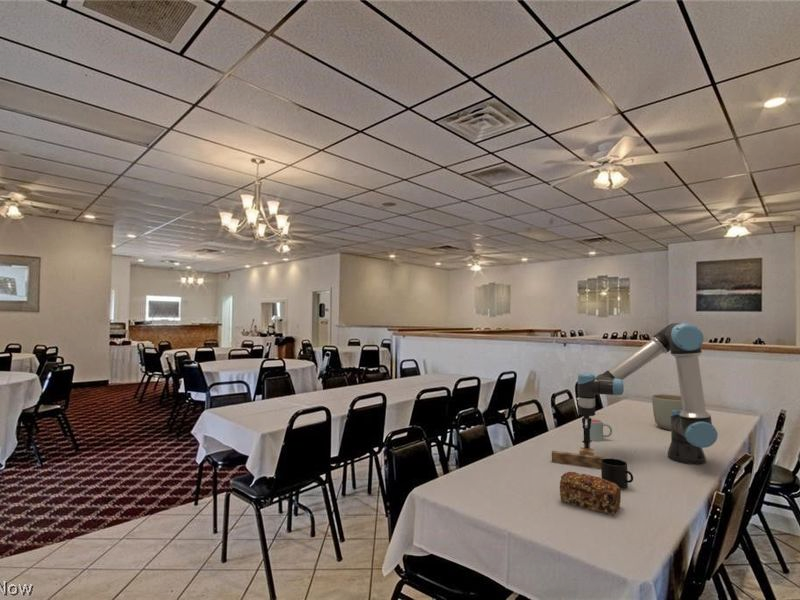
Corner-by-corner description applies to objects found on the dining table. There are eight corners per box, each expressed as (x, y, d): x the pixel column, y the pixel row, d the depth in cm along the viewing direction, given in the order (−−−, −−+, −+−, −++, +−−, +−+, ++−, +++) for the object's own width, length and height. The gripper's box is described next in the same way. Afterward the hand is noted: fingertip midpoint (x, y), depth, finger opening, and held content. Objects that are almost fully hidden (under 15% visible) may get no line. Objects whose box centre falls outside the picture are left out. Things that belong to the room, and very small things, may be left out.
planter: (692, 427, 264) (692, 396, 265) (694, 435, 247) (693, 401, 248) (653, 423, 276) (652, 393, 276) (652, 430, 258) (651, 398, 259)
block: (594, 461, 201) (593, 448, 201) (593, 465, 196) (593, 452, 196) (580, 460, 204) (579, 447, 204) (579, 463, 198) (579, 450, 198)
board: (614, 468, 192) (613, 457, 192) (614, 470, 189) (614, 459, 190) (552, 460, 203) (552, 450, 204) (551, 462, 201) (551, 452, 201)
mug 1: (585, 440, 236) (585, 422, 237) (584, 436, 245) (584, 418, 245) (613, 443, 231) (612, 424, 232) (611, 438, 240) (611, 420, 240)
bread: (558, 502, 157) (558, 474, 157) (568, 493, 165) (568, 466, 166) (614, 517, 145) (614, 487, 146) (622, 506, 153) (621, 478, 154)
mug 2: (627, 493, 165) (627, 469, 165) (597, 484, 174) (596, 461, 174) (638, 487, 171) (638, 464, 171) (608, 478, 180) (608, 456, 180)
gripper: (578, 402, 212) (579, 450, 212) (577, 408, 201) (577, 459, 200) (595, 404, 209) (596, 453, 208) (594, 409, 197) (595, 461, 197)
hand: (587, 456), depth 204 cm, fingers closed
